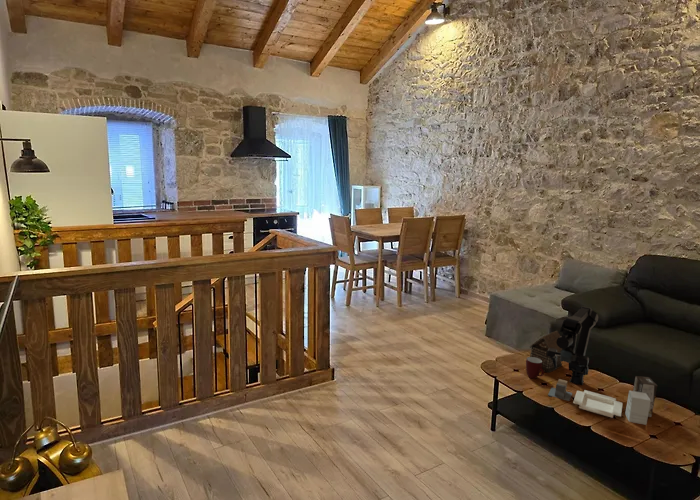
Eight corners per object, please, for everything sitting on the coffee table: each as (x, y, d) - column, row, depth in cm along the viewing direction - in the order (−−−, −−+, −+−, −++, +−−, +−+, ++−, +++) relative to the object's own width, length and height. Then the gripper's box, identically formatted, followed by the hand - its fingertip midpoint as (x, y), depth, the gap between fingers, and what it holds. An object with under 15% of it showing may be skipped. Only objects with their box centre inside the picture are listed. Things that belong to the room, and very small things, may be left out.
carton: (577, 392, 240) (577, 388, 239) (622, 404, 229) (622, 400, 229) (571, 409, 222) (572, 405, 222) (619, 424, 212) (620, 419, 211)
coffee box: (652, 417, 219) (658, 385, 216) (637, 415, 220) (642, 383, 217) (644, 407, 228) (649, 377, 225) (629, 405, 229) (635, 375, 226)
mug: (547, 380, 252) (549, 362, 250) (538, 383, 248) (541, 366, 246) (529, 372, 261) (531, 355, 259) (521, 375, 256) (523, 358, 254)
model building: (550, 374, 259) (554, 340, 255) (525, 365, 270) (529, 332, 266) (564, 366, 271) (569, 333, 267) (541, 357, 282) (545, 326, 278)
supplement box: (642, 417, 218) (646, 393, 216) (646, 426, 211) (651, 400, 209) (624, 414, 220) (628, 389, 218) (628, 422, 213) (632, 397, 211)
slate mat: (551, 388, 243) (551, 387, 243) (572, 394, 238) (572, 392, 238) (547, 395, 235) (548, 394, 235) (569, 402, 230) (569, 400, 229)
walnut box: (557, 389, 241) (558, 378, 239) (566, 392, 238) (567, 381, 237) (554, 395, 234) (556, 384, 233) (563, 398, 232) (565, 387, 231)
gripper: (546, 343, 229) (542, 372, 232) (588, 353, 220) (583, 383, 223) (550, 336, 239) (546, 365, 242) (591, 345, 229) (586, 375, 232)
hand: (565, 372), depth 234 cm, fingers open, 9 cm apart
